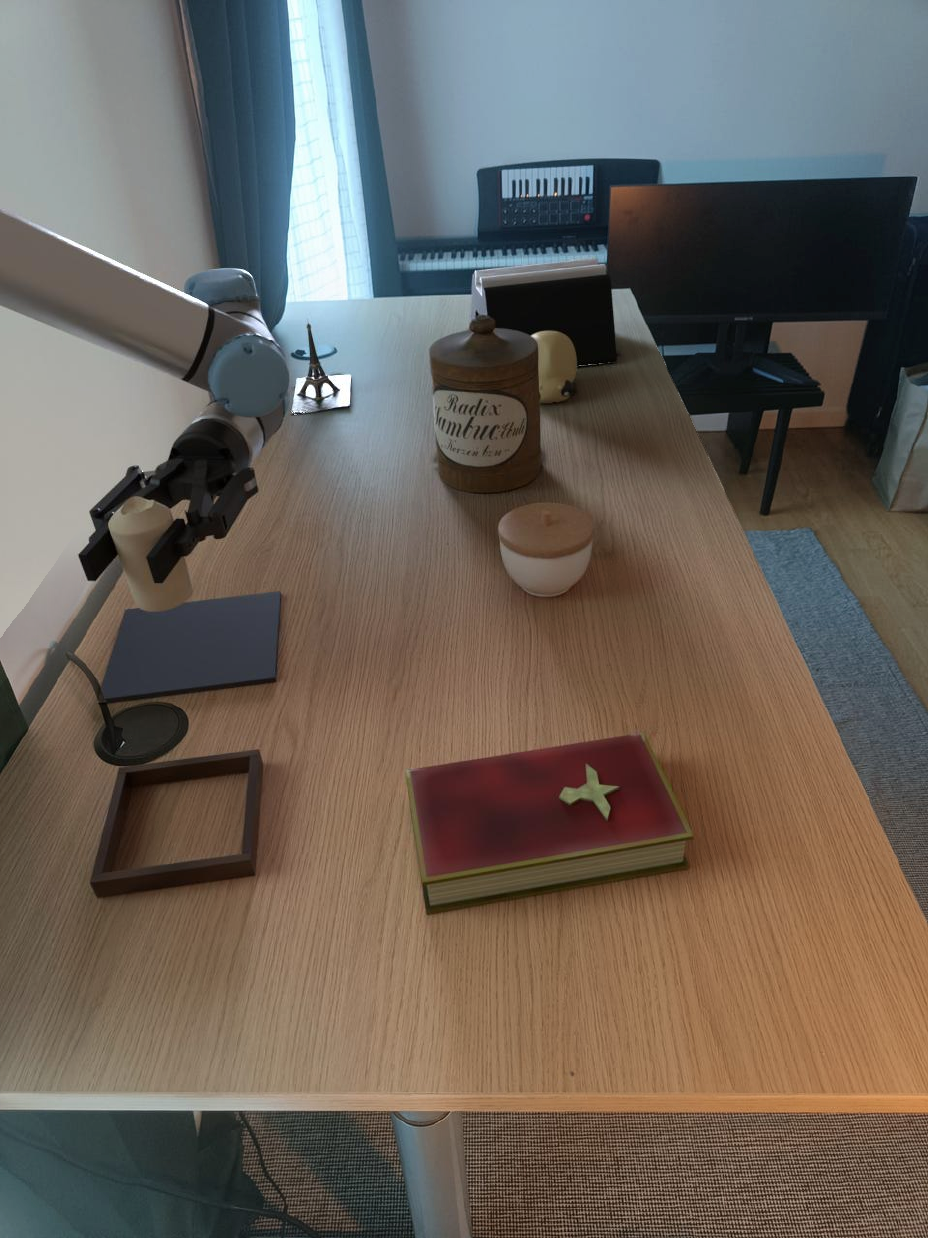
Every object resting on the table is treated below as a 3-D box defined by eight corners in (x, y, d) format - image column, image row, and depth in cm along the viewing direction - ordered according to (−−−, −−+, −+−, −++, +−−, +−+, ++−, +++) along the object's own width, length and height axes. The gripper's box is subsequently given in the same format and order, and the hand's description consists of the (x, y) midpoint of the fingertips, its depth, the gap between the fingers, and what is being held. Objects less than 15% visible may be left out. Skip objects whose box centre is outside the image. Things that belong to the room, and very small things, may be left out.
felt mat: (98, 704, 89) (96, 700, 88) (126, 613, 101) (125, 609, 101) (276, 681, 90) (275, 677, 90) (281, 594, 103) (280, 590, 102)
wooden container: (424, 488, 122) (409, 332, 109) (455, 443, 133) (446, 296, 120) (526, 499, 118) (524, 338, 105) (550, 451, 129) (551, 300, 116)
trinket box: (590, 611, 97) (592, 539, 91) (494, 606, 99) (491, 535, 93) (593, 559, 105) (596, 490, 100) (505, 555, 107) (504, 487, 101)
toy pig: (520, 416, 149) (520, 394, 138) (515, 348, 150) (515, 322, 139) (578, 411, 148) (582, 389, 138) (573, 343, 149) (577, 316, 139)
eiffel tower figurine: (351, 409, 146) (340, 329, 138) (290, 414, 146) (276, 335, 138) (351, 376, 158) (341, 301, 150) (295, 381, 158) (282, 306, 150)
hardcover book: (408, 798, 76) (404, 764, 74) (639, 760, 78) (643, 726, 76) (426, 914, 67) (421, 880, 64) (688, 868, 69) (694, 833, 66)
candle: (133, 587, 85) (102, 496, 79) (190, 574, 86) (164, 484, 80) (136, 618, 80) (103, 524, 74) (196, 604, 82) (169, 511, 76)
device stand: (470, 338, 172) (466, 258, 163) (580, 325, 174) (582, 246, 165) (494, 378, 154) (491, 291, 145) (616, 364, 156) (621, 277, 147)
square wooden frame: (96, 898, 70) (89, 882, 68) (124, 782, 80) (118, 767, 78) (255, 875, 71) (250, 859, 69) (263, 764, 81) (259, 748, 79)
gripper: (305, 482, 94) (231, 608, 76) (145, 480, 97) (36, 600, 79) (293, 417, 90) (212, 534, 72) (126, 417, 93) (6, 529, 74)
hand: (120, 568), depth 75 cm, fingers closed on candle, 5 cm apart
